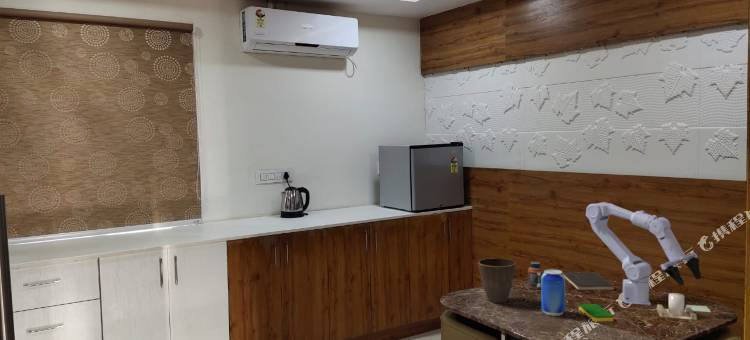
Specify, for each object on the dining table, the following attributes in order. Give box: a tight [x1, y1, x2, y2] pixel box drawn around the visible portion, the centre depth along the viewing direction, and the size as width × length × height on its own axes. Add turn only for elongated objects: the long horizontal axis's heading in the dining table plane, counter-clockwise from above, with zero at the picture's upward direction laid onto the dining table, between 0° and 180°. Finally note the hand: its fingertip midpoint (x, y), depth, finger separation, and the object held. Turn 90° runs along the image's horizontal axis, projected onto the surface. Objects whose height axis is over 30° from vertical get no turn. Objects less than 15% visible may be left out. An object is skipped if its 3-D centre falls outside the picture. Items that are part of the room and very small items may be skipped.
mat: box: [685, 304, 712, 313], centre depth 201 cm, size 7×7×1 cm
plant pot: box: [478, 257, 517, 304], centre depth 217 cm, size 15×15×16 cm
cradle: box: [655, 303, 699, 321], centre depth 196 cm, size 12×10×2 cm
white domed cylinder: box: [668, 292, 685, 316], centre depth 196 cm, size 5×6×7 cm
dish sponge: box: [578, 303, 614, 323], centre depth 198 cm, size 7×14×2 cm, turn 1°
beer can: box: [541, 268, 566, 317], centre depth 201 cm, size 8×8×16 cm
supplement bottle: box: [527, 261, 543, 290], centre depth 234 cm, size 6×6×11 cm
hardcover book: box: [562, 271, 616, 291], centre depth 241 cm, size 16×23×2 cm
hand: (690, 282), depth 196 cm, fingers open, 7 cm apart
